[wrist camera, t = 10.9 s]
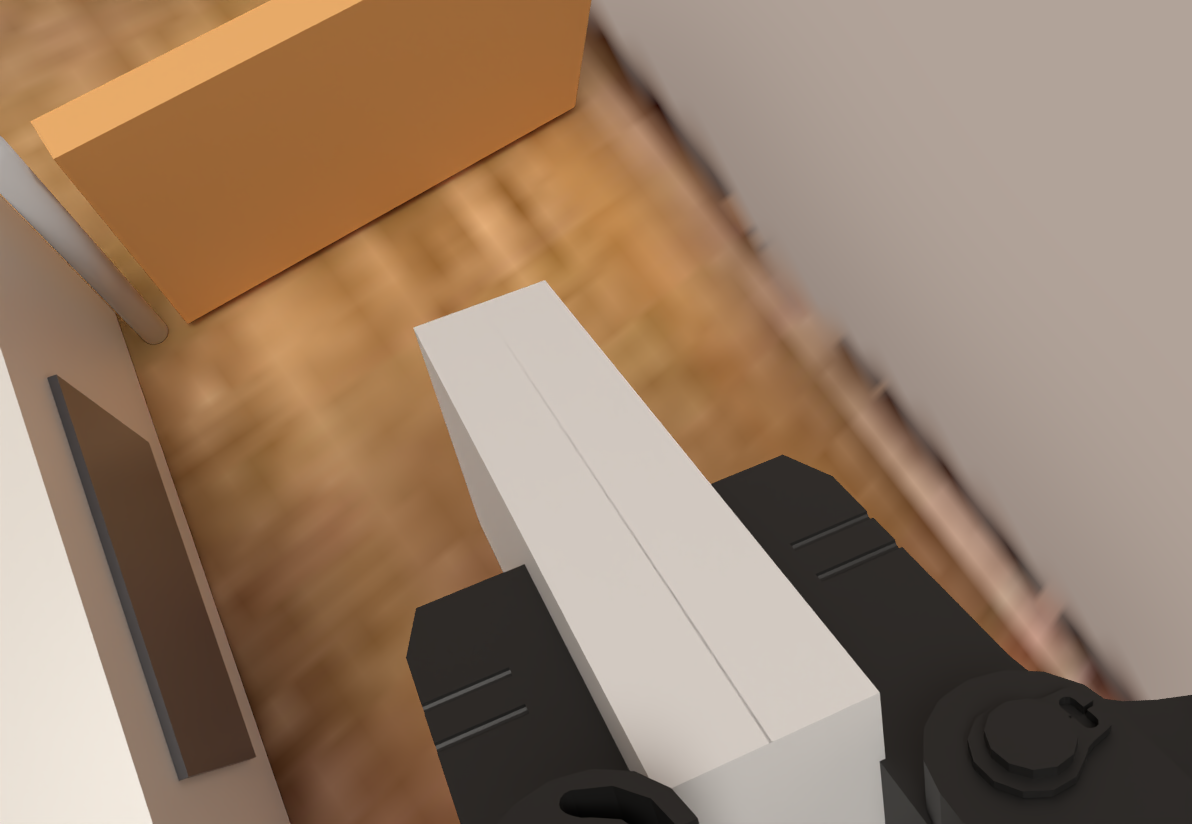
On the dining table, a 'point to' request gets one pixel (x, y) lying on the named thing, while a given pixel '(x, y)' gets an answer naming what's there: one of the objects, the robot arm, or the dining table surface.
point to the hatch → (306, 127)
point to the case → (101, 562)
